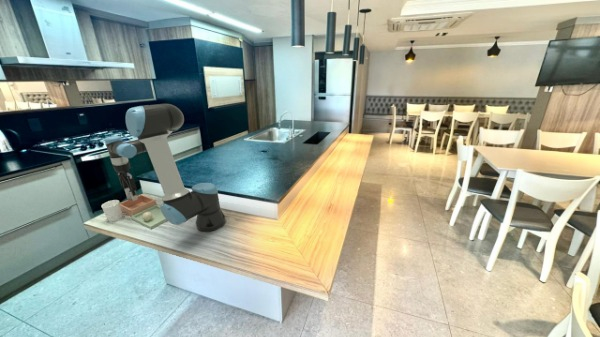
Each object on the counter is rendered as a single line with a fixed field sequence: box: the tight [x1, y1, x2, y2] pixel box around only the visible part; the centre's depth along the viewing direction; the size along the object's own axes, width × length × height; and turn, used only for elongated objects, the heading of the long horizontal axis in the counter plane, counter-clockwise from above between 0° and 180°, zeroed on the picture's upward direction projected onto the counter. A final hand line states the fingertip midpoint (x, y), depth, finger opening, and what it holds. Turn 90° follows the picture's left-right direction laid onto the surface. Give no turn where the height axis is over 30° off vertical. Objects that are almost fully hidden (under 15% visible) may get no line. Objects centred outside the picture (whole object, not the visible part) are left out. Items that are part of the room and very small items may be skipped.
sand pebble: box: [142, 212, 153, 221], centre depth 127 cm, size 5×5×5 cm
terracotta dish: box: [120, 193, 158, 217], centre depth 139 cm, size 15×14×5 cm
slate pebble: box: [126, 193, 132, 200], centre depth 139 cm, size 5×5×5 cm
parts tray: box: [130, 204, 169, 230], centre depth 131 cm, size 20×15×2 cm
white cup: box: [101, 199, 124, 222], centre depth 129 cm, size 8×8×10 cm
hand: (132, 198), depth 140 cm, fingers closed on slate pebble, 5 cm apart
